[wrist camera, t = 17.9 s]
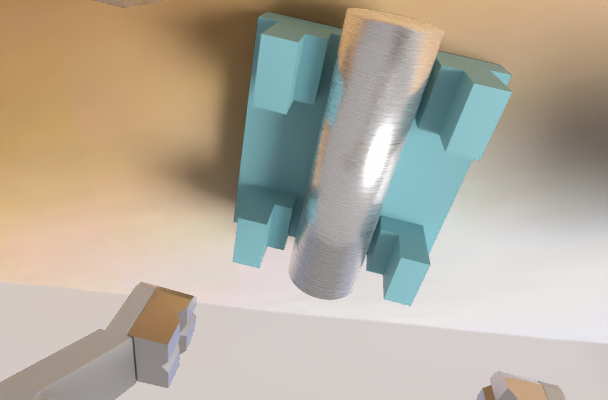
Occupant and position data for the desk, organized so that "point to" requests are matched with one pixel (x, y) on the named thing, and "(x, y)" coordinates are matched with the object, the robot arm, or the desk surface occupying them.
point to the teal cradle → (304, 134)
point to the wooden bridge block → (126, 2)
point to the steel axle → (359, 145)
